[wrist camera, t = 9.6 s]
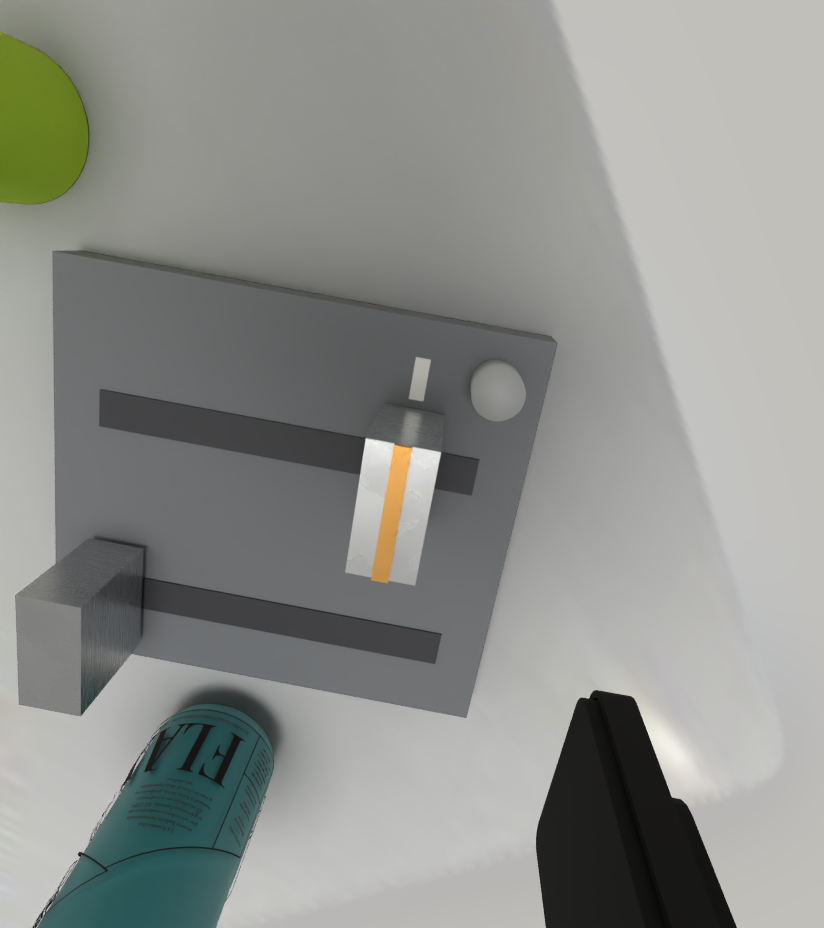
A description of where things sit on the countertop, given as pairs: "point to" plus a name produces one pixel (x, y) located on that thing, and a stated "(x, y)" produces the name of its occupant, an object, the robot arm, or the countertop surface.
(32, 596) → the fader tab
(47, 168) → the soap dispenser
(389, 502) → the fader tab
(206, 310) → the console
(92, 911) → the beverage bottle
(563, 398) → the countertop surface
